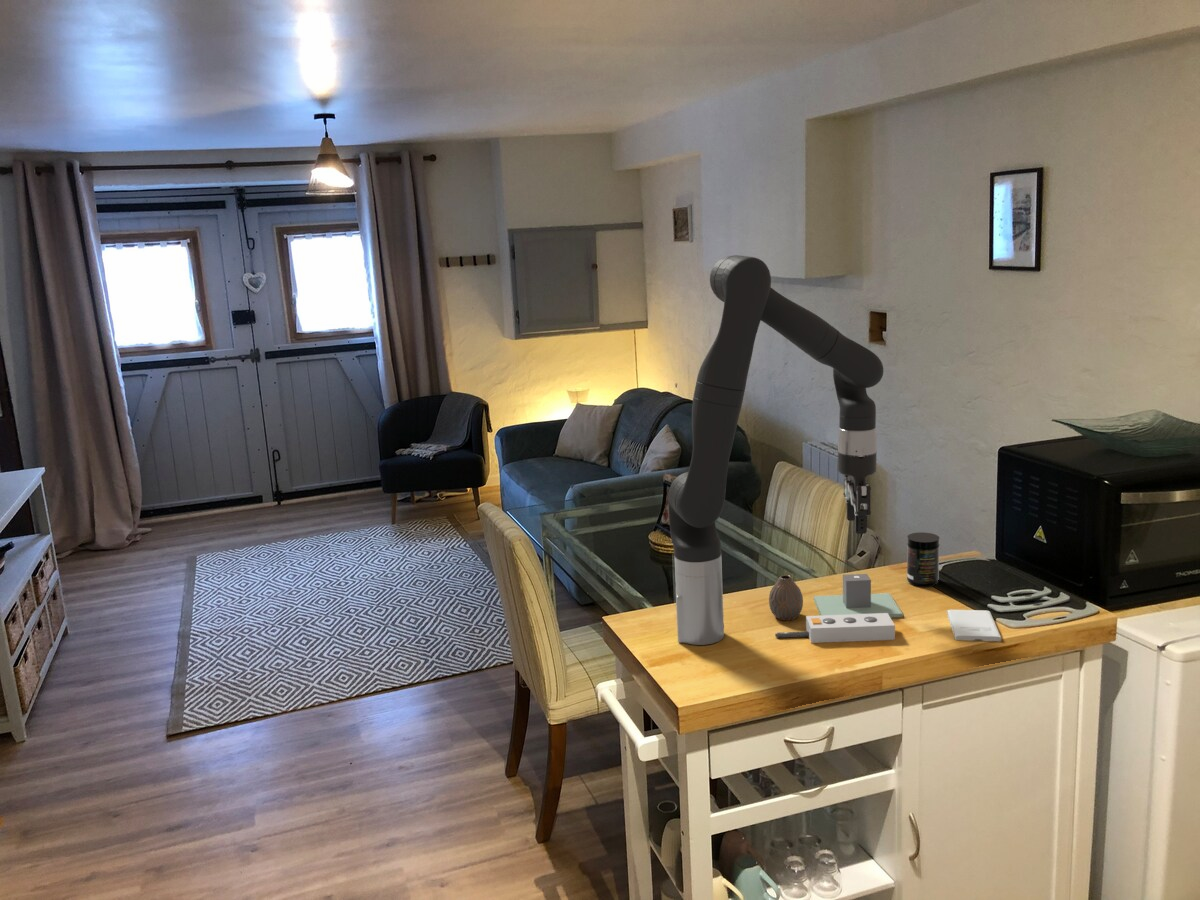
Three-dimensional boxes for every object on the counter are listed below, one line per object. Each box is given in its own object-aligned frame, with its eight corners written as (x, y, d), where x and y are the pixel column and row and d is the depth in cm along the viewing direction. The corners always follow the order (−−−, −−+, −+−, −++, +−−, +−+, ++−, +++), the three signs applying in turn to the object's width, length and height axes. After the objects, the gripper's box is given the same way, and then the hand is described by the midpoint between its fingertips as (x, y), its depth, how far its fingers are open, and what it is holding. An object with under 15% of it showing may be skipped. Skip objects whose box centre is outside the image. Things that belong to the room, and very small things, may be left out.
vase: (800, 624, 200) (800, 584, 198) (766, 622, 202) (765, 582, 200) (805, 611, 206) (804, 571, 204) (772, 609, 208) (771, 570, 206)
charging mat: (822, 620, 201) (822, 616, 201) (813, 599, 212) (813, 596, 212) (902, 617, 200) (902, 613, 200) (889, 596, 211) (889, 593, 211)
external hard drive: (989, 617, 199) (1001, 644, 187) (946, 616, 201) (955, 642, 189) (990, 610, 199) (1001, 636, 187) (947, 609, 200) (955, 634, 189)
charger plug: (846, 608, 204) (846, 580, 203) (842, 601, 208) (842, 574, 206) (870, 607, 204) (870, 579, 203) (866, 600, 208) (867, 573, 206)
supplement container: (945, 584, 216) (946, 538, 213) (920, 590, 214) (920, 544, 211) (925, 574, 222) (925, 530, 220) (900, 580, 220) (900, 535, 217)
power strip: (777, 644, 192) (776, 628, 191) (773, 631, 198) (773, 615, 197) (894, 639, 190) (895, 623, 190) (887, 627, 196) (887, 611, 195)
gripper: (831, 442, 205) (831, 516, 209) (845, 458, 192) (844, 538, 195) (868, 440, 205) (867, 515, 209) (884, 457, 191) (883, 537, 195)
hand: (856, 526), depth 202 cm, fingers open, 8 cm apart
